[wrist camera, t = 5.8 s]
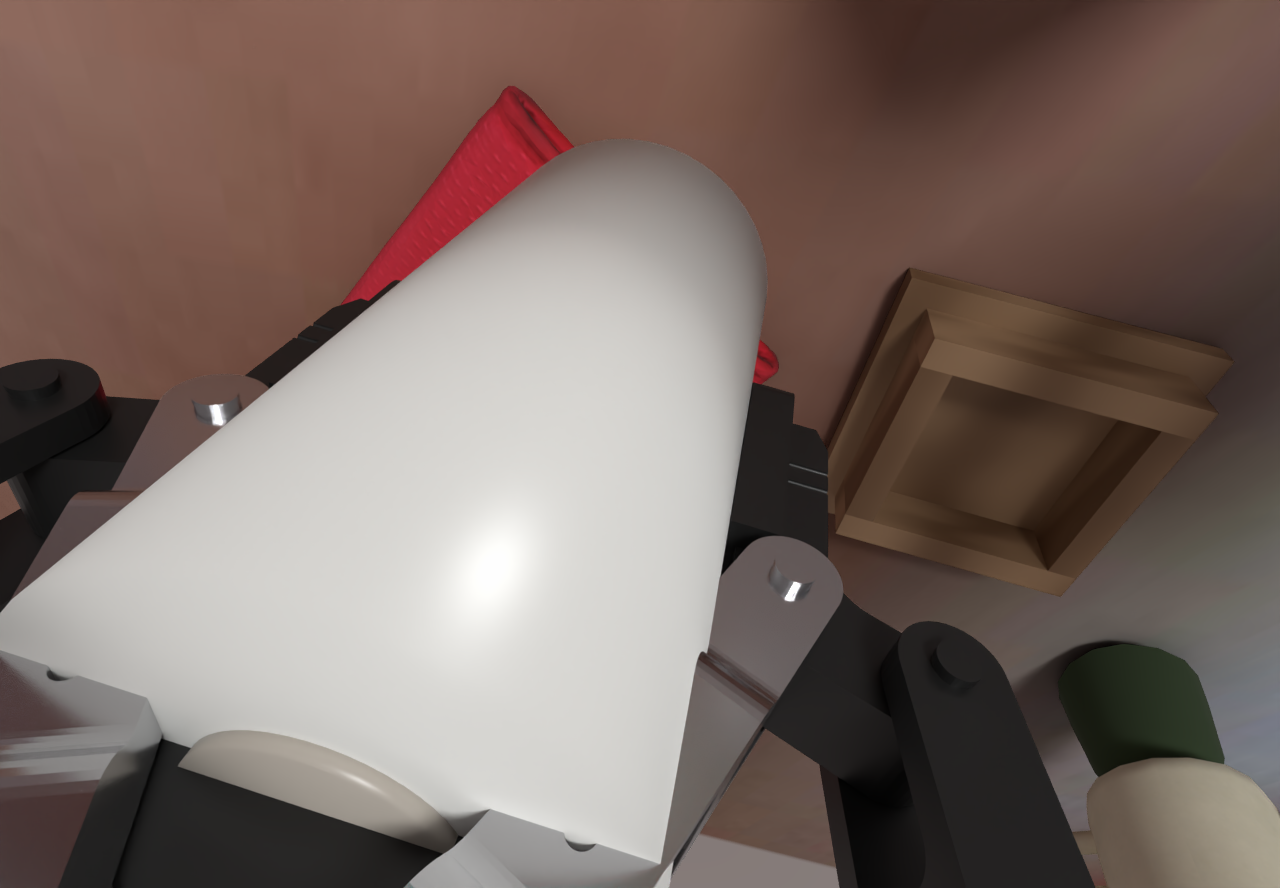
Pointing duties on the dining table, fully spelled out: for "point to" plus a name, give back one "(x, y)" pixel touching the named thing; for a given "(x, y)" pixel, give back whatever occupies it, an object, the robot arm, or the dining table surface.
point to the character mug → (1163, 778)
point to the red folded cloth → (482, 194)
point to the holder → (1011, 430)
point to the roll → (456, 527)
